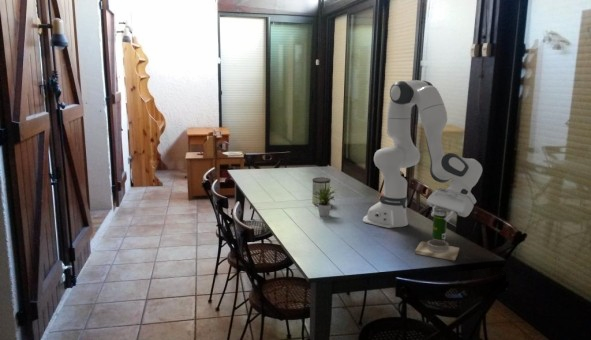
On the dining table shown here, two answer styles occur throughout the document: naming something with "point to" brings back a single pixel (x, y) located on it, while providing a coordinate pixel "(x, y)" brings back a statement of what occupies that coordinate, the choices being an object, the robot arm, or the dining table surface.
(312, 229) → the dining table surface
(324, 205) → the house plant
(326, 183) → the glass jar with lid
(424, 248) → the board
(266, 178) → the dining table surface
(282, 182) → the dining table surface
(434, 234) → the beer can
